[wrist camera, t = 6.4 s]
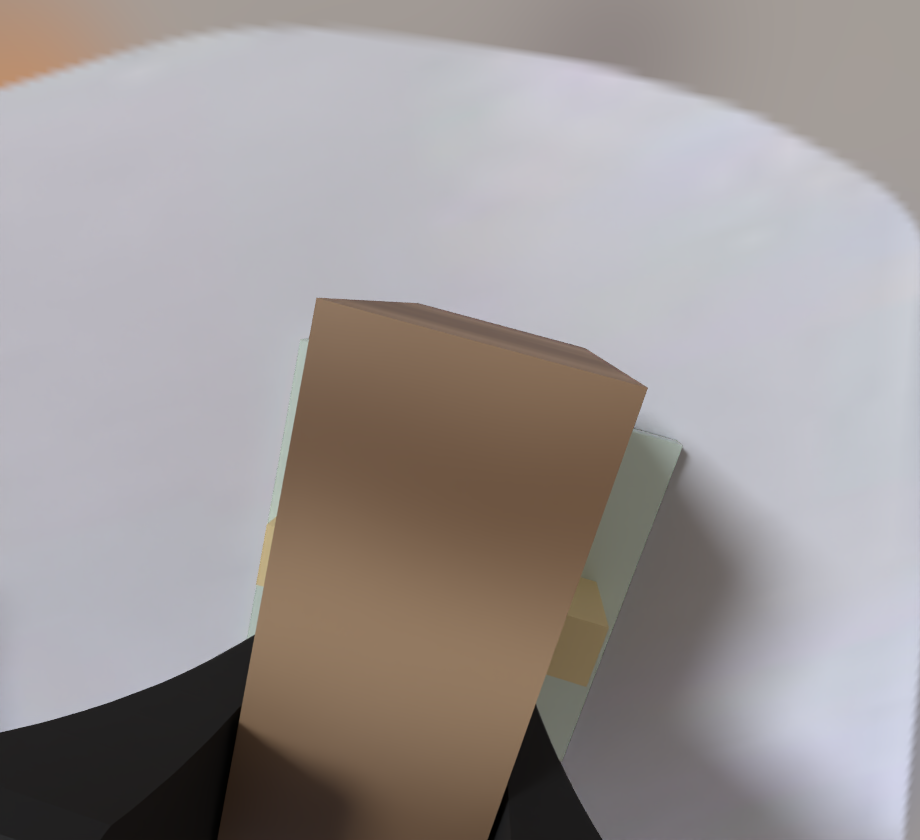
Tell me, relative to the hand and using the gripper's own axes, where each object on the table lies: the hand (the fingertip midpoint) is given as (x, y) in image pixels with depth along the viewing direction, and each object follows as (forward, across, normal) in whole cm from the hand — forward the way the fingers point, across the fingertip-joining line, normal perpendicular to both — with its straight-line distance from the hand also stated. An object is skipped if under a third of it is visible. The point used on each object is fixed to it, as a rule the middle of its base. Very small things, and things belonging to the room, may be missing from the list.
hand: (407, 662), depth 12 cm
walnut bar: (+2, 0, 0) cm, 2 cm away
